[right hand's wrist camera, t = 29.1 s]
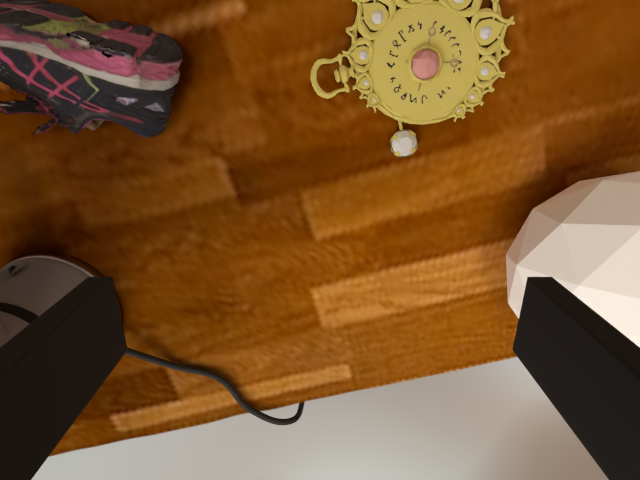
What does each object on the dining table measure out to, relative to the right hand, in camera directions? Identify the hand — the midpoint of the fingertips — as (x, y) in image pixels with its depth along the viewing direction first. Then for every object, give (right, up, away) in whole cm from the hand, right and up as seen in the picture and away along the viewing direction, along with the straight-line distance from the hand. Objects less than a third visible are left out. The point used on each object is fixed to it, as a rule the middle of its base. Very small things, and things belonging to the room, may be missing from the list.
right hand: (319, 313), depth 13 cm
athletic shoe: (-23, +19, +27) cm, 40 cm away
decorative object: (+9, +21, +26) cm, 35 cm away
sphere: (+28, +2, +33) cm, 44 cm away
